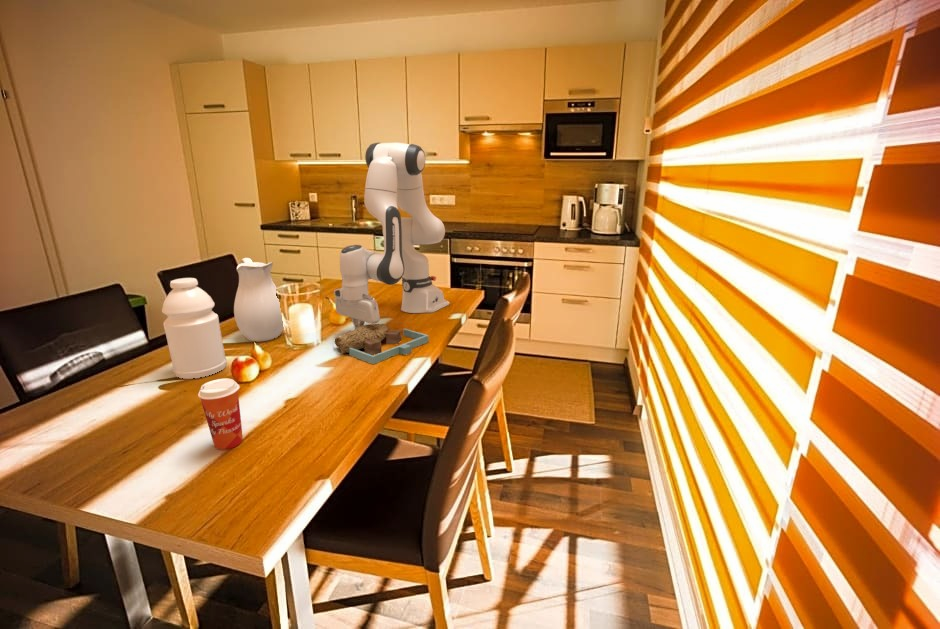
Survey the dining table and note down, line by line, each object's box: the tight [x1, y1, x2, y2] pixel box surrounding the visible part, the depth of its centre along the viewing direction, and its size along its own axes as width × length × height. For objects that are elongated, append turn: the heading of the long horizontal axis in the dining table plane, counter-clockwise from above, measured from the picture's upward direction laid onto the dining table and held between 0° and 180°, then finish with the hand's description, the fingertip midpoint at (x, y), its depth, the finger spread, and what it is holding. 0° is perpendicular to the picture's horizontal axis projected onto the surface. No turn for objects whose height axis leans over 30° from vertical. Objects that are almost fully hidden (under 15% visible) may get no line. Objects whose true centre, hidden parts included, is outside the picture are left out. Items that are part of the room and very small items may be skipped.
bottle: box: [161, 277, 227, 380], centre depth 135 cm, size 14×14×28 cm
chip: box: [364, 339, 383, 355], centre depth 150 cm, size 4×4×4 cm
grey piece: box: [348, 328, 430, 365], centre depth 153 cm, size 25×14×2 cm, turn 141°
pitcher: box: [233, 257, 284, 343], centre depth 166 cm, size 24×17×28 cm
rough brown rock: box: [334, 323, 390, 354], centre depth 157 cm, size 13×8×20 cm
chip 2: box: [385, 329, 402, 345], centre depth 159 cm, size 4×4×4 cm
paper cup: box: [198, 378, 244, 451], centre depth 99 cm, size 8×8×14 cm
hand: (359, 330), depth 163 cm, fingers closed
